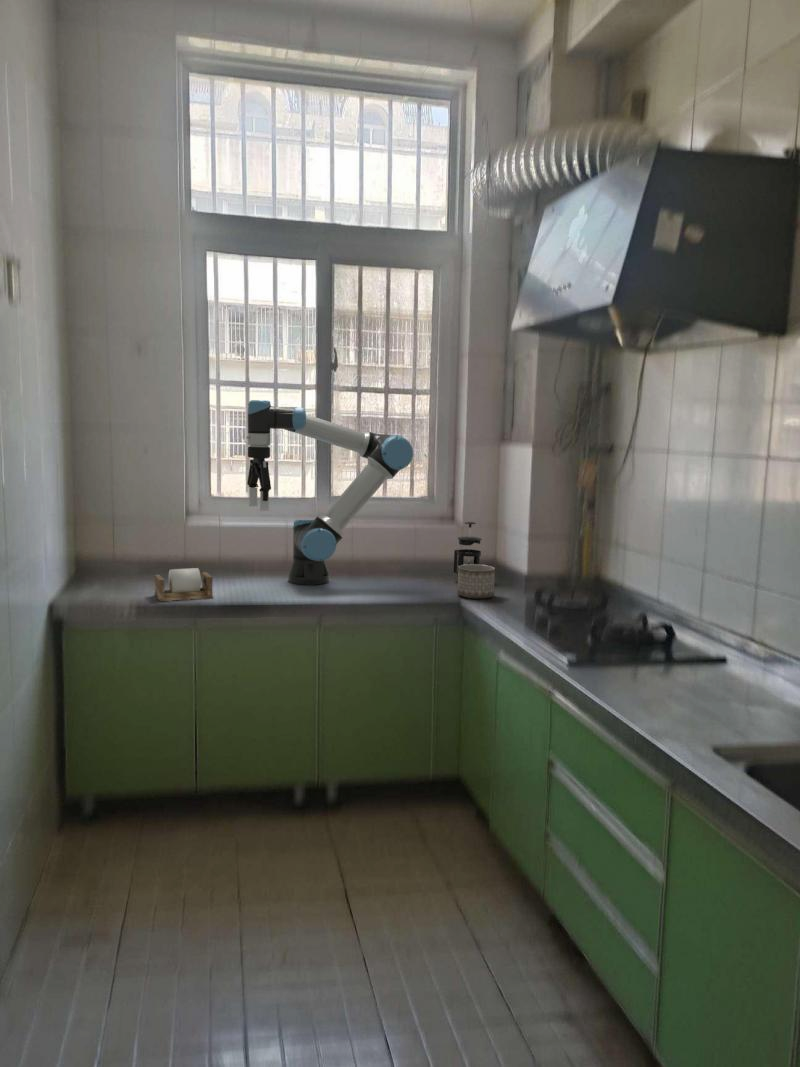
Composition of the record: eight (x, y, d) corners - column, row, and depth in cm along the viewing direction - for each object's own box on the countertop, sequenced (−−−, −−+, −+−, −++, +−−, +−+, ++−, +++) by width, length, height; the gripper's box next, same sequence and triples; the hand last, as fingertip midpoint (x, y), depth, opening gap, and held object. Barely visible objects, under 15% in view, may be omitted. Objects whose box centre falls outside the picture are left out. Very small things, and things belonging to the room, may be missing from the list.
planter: (454, 592, 292) (455, 564, 291) (488, 592, 294) (490, 564, 292) (461, 600, 280) (462, 570, 278) (497, 600, 281) (498, 570, 280)
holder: (205, 591, 282) (205, 571, 281) (213, 598, 272) (213, 577, 271) (154, 595, 275) (154, 574, 274) (160, 602, 265) (160, 580, 264)
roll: (195, 589, 279) (195, 566, 278) (201, 594, 272) (200, 570, 271) (168, 591, 275) (168, 567, 274) (173, 595, 268) (172, 571, 267)
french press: (486, 583, 311) (489, 522, 308) (471, 586, 304) (473, 524, 301) (462, 578, 319) (464, 519, 316) (446, 581, 312) (449, 521, 309)
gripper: (238, 444, 289) (238, 504, 292) (258, 447, 267) (258, 512, 270) (259, 444, 292) (259, 504, 295) (280, 447, 270) (280, 512, 273)
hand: (258, 508), depth 283 cm, fingers open, 13 cm apart
